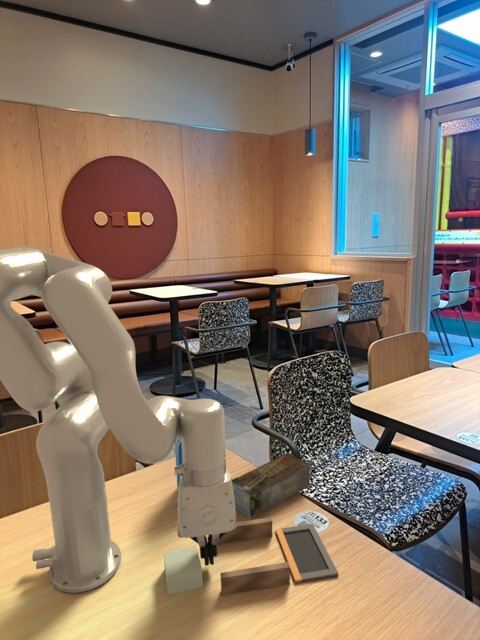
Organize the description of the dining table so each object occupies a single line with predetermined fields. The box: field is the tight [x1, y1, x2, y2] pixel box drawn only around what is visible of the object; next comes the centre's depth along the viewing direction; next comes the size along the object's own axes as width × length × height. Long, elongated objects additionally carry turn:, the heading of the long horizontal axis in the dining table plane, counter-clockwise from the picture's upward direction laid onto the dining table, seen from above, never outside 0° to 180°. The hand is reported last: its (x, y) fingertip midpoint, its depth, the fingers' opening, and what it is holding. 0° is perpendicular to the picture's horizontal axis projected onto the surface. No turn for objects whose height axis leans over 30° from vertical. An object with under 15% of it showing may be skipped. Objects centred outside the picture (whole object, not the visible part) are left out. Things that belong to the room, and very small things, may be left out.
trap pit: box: [275, 523, 339, 584], centre depth 84 cm, size 8×13×1 cm, turn 10°
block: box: [163, 544, 204, 596], centre depth 78 cm, size 6×6×4 cm
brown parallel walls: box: [217, 517, 291, 596], centre depth 81 cm, size 12×13×4 cm
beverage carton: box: [231, 452, 311, 519], centre depth 101 cm, size 8×19×7 cm, turn 128°
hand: (208, 559), depth 80 cm, fingers closed
